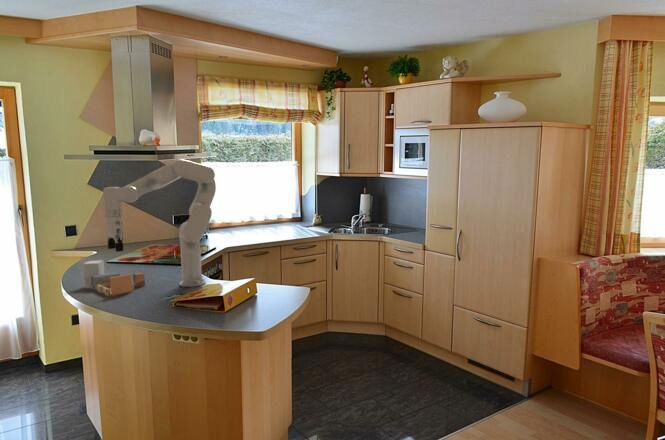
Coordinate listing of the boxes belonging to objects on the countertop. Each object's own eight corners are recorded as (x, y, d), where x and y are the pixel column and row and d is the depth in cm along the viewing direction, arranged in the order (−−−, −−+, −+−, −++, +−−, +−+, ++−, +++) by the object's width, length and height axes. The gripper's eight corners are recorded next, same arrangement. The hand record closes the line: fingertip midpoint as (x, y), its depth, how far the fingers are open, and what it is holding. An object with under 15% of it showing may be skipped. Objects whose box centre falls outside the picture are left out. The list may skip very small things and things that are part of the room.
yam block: (145, 287, 247) (144, 273, 246) (137, 289, 244) (136, 275, 243) (141, 286, 250) (140, 272, 249) (133, 287, 247) (132, 273, 246)
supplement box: (106, 284, 254) (104, 260, 253) (99, 288, 247) (97, 263, 245) (91, 284, 254) (89, 260, 252) (84, 288, 247) (82, 263, 245)
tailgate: (133, 292, 235) (131, 274, 234) (111, 297, 229) (110, 278, 227) (132, 292, 236) (130, 273, 235) (111, 296, 229) (109, 277, 228)
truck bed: (134, 292, 237) (133, 278, 236) (108, 298, 229) (107, 283, 228) (116, 285, 252) (115, 271, 251) (91, 290, 243) (90, 276, 242)
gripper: (128, 214, 229) (130, 251, 231) (114, 211, 241) (117, 246, 243) (111, 215, 223) (114, 253, 226) (98, 212, 236) (101, 248, 238)
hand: (115, 249), depth 234 cm, fingers open, 9 cm apart
